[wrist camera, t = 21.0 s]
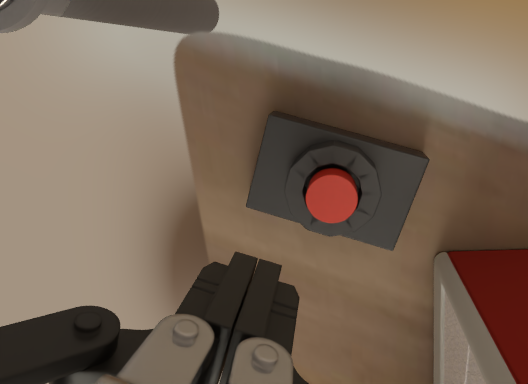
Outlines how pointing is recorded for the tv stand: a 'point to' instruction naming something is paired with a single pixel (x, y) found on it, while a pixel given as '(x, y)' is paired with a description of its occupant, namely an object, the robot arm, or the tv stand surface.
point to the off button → (332, 195)
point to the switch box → (342, 157)
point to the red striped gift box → (481, 317)
